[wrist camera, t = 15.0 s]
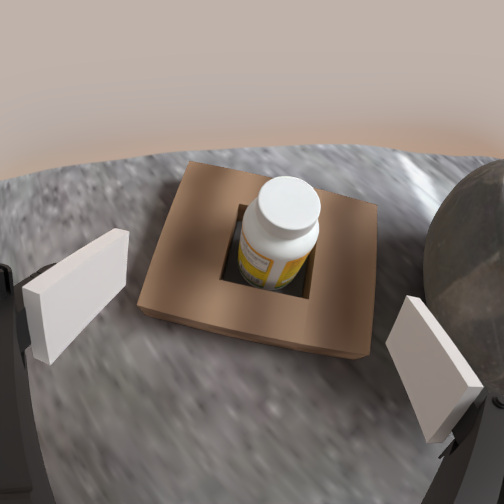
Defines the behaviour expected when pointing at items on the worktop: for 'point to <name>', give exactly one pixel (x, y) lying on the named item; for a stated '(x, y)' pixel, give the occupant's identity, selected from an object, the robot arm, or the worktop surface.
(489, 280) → the bowl
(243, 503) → the worktop surface
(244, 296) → the well board
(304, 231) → the supplement bottle
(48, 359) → the robot arm
